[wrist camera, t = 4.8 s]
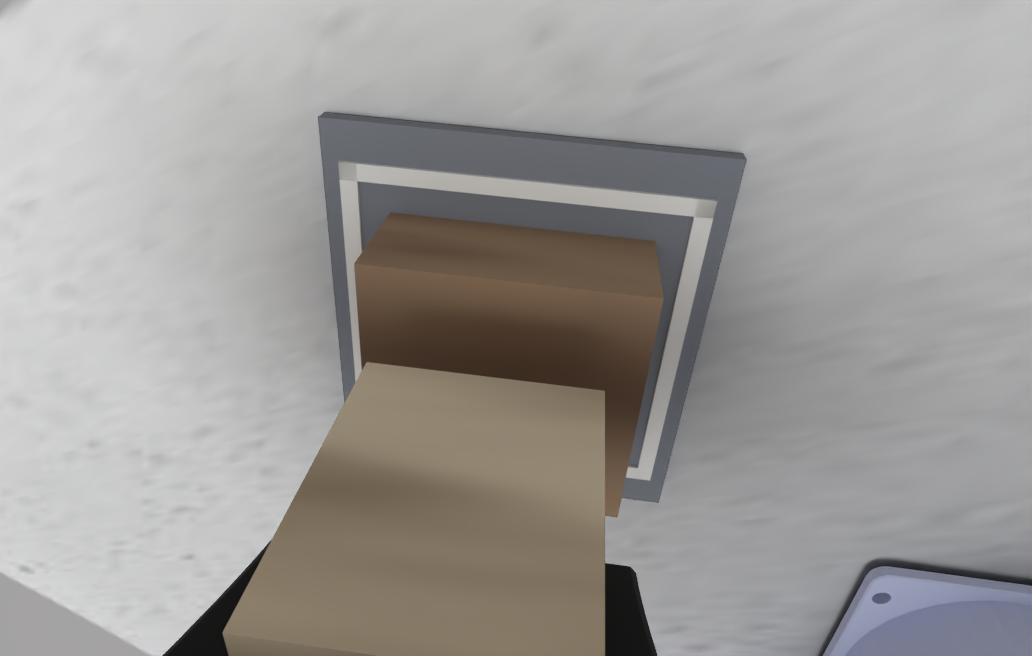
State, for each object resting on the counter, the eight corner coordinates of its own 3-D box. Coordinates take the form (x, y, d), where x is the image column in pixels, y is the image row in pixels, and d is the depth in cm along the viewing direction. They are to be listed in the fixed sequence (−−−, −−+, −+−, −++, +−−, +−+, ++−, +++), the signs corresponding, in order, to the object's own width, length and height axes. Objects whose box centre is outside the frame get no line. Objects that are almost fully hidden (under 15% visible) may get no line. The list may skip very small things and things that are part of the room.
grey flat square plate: (657, 492, 19) (658, 505, 19) (354, 452, 20) (348, 464, 20) (743, 154, 14) (747, 161, 14) (324, 112, 15) (316, 118, 14)
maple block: (577, 553, 13) (564, 857, 9) (377, 526, 13) (271, 809, 9) (604, 390, 11) (605, 690, 7) (366, 362, 11) (221, 633, 7)
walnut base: (616, 443, 18) (617, 517, 16) (398, 415, 18) (370, 484, 16) (655, 241, 15) (664, 298, 13) (390, 212, 15) (354, 263, 13)
